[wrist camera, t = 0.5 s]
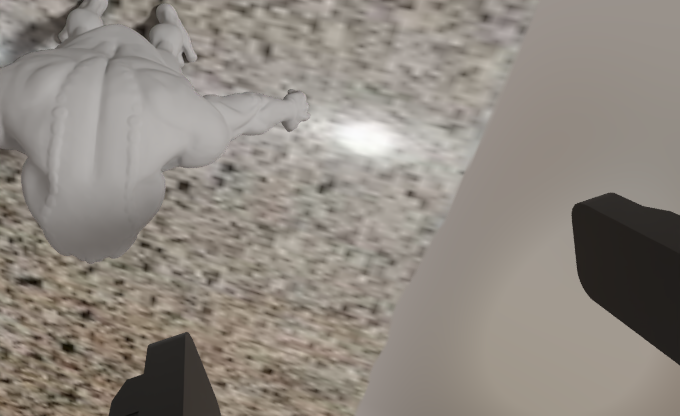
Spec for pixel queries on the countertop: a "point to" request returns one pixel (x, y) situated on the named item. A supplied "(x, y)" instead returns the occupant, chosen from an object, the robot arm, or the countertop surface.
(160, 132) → the figurine
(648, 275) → the robot arm
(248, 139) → the countertop surface
